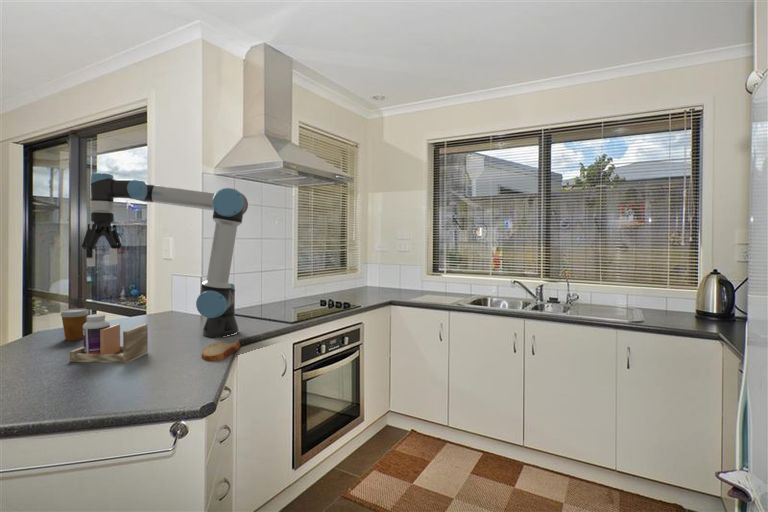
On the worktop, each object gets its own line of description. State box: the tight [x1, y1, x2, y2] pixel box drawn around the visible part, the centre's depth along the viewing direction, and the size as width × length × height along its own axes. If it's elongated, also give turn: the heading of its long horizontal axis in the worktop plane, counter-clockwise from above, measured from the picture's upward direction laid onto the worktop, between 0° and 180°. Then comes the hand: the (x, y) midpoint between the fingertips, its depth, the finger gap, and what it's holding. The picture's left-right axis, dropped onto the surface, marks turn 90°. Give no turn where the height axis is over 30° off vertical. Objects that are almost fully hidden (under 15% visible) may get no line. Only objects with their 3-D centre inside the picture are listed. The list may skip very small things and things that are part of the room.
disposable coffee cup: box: [59, 308, 89, 341], centre depth 176 cm, size 10×10×12 cm
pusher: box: [100, 323, 121, 354], centre depth 152 cm, size 1×9×10 cm, turn 0°
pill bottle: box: [82, 313, 111, 354], centre depth 151 cm, size 8×8×14 cm
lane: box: [69, 323, 149, 364], centre depth 152 cm, size 20×12×11 cm, turn 90°
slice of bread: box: [201, 340, 241, 363], centre depth 161 cm, size 18×18×4 cm
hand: (102, 265), depth 169 cm, fingers open, 13 cm apart
